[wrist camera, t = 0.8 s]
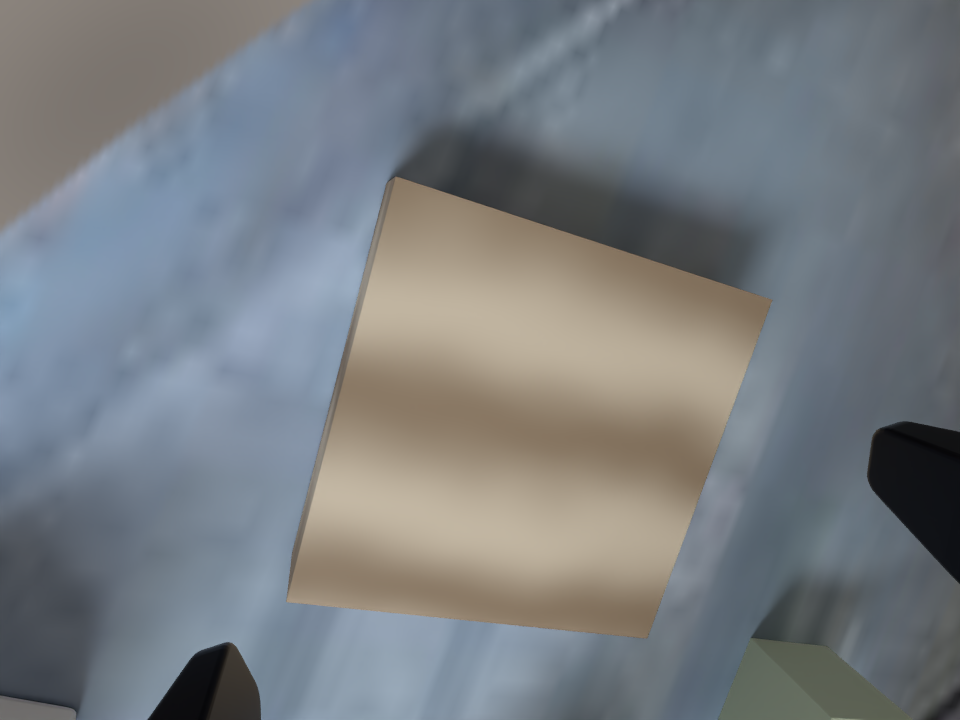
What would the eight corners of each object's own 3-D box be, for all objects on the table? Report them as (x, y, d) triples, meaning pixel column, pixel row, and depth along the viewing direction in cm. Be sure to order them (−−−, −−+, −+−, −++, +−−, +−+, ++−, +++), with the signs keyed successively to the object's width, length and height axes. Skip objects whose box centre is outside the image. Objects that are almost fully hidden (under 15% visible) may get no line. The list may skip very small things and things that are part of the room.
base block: (612, 593, 26) (647, 638, 23) (292, 552, 22) (286, 601, 19) (719, 290, 24) (772, 299, 21) (386, 183, 20) (396, 176, 17)
